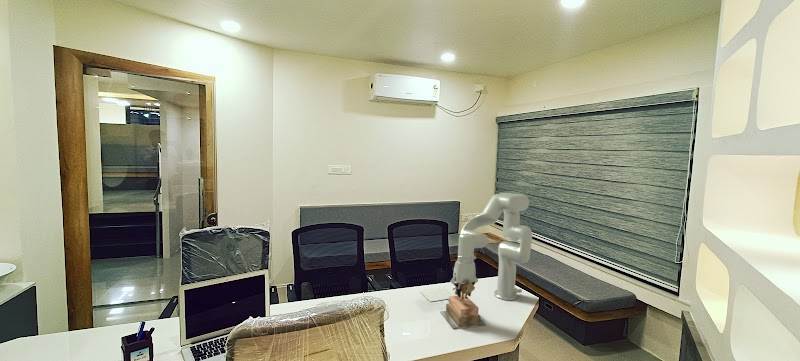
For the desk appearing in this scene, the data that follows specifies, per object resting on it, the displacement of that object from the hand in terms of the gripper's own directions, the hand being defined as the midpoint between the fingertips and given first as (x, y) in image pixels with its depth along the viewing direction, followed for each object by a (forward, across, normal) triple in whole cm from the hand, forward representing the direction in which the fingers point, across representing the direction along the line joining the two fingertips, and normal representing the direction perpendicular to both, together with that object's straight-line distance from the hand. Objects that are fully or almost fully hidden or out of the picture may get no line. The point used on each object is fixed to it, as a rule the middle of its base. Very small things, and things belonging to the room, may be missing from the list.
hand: (463, 295), depth 158 cm
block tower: (+12, 0, 0) cm, 12 cm away
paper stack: (+13, +6, -23) cm, 26 cm away
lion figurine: (+1, 0, -1) cm, 2 cm away
